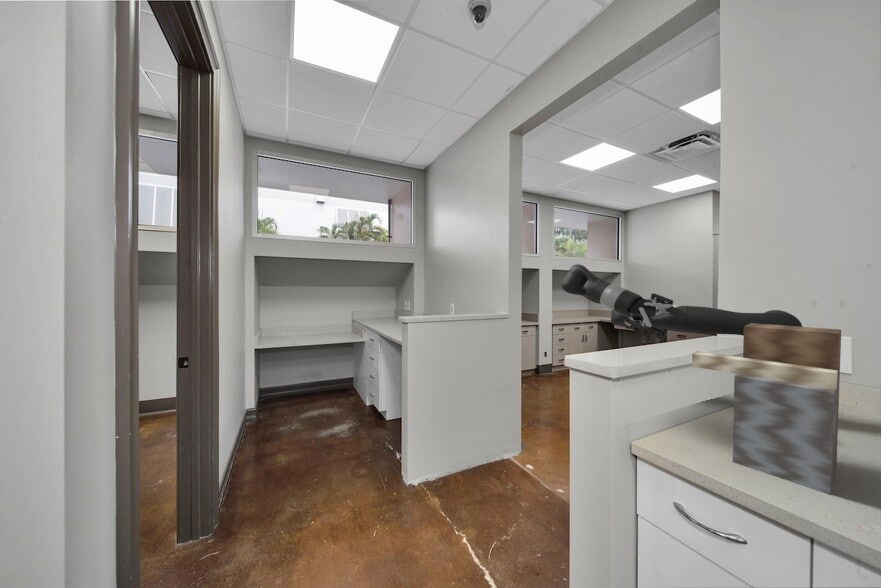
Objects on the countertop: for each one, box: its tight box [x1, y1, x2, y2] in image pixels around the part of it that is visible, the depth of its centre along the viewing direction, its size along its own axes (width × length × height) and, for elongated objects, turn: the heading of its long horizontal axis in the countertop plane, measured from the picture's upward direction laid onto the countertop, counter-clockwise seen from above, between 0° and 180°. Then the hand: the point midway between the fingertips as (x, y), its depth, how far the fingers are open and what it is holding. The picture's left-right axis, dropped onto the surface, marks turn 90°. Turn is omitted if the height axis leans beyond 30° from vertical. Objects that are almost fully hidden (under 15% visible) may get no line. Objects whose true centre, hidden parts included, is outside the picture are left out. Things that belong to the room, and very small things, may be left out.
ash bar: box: [691, 351, 838, 391], centre depth 76 cm, size 24×4×4 cm, turn 36°
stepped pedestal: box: [732, 323, 842, 495], centre depth 75 cm, size 15×16×32 cm
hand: (675, 325), depth 89 cm, fingers open, 8 cm apart
